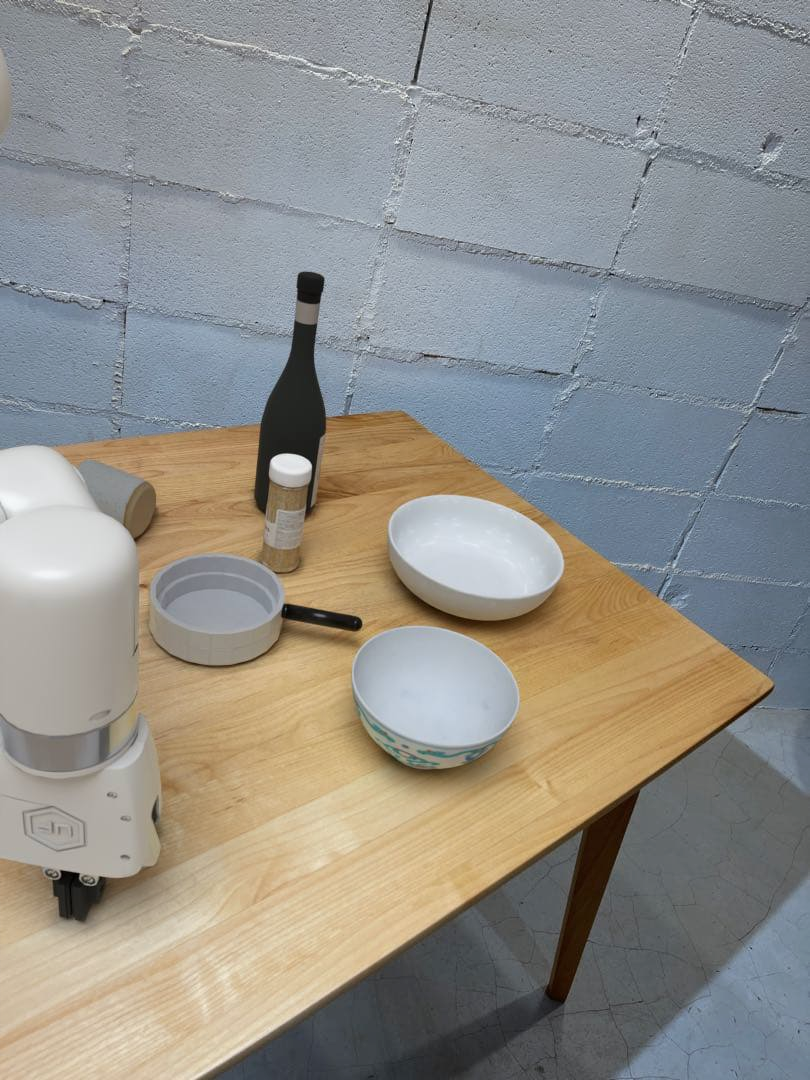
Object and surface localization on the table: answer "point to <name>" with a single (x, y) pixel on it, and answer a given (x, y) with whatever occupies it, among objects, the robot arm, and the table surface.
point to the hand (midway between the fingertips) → (80, 900)
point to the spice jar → (285, 511)
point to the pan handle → (321, 617)
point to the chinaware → (432, 695)
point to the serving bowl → (473, 556)
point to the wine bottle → (296, 399)
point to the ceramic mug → (120, 495)
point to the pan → (216, 608)
